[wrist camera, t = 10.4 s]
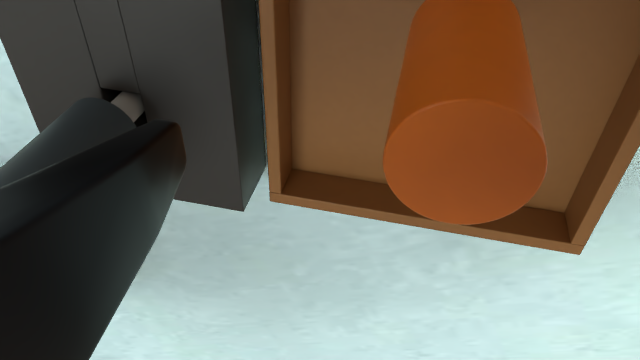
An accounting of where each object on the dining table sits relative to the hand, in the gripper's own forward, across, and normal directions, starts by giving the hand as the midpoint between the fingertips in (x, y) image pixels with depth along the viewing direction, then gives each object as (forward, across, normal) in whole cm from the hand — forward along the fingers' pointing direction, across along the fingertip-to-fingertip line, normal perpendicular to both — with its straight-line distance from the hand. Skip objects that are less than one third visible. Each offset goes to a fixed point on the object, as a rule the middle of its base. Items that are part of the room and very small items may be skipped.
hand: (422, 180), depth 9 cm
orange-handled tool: (+12, -1, 0) cm, 12 cm away
